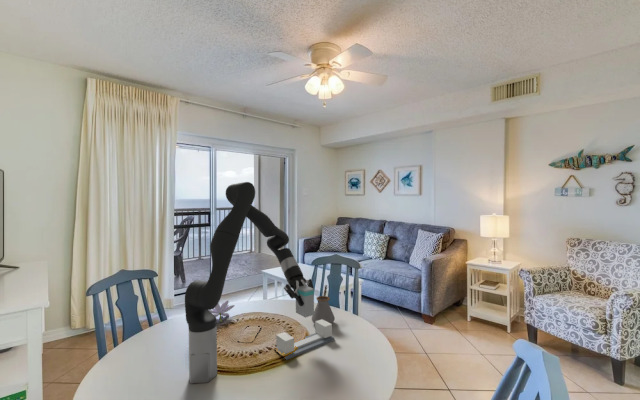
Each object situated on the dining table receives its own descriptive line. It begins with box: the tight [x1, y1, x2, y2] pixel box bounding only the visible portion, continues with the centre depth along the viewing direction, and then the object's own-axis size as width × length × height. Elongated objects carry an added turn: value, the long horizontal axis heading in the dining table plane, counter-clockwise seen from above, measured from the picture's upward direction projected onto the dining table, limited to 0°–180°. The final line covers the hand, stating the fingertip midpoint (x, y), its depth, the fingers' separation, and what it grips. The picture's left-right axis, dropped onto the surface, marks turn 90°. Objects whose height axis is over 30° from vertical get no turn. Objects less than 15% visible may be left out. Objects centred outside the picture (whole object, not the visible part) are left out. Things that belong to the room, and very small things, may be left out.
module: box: [295, 285, 315, 318], centre depth 125 cm, size 5×7×11 cm, turn 39°
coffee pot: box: [311, 284, 335, 325], centre depth 151 cm, size 21×12×15 cm, turn 172°
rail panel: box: [275, 319, 336, 361], centre depth 125 cm, size 25×9×7 cm, turn 129°
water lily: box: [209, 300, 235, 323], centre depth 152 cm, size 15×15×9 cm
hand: (307, 303), depth 123 cm, fingers closed on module, 4 cm apart
